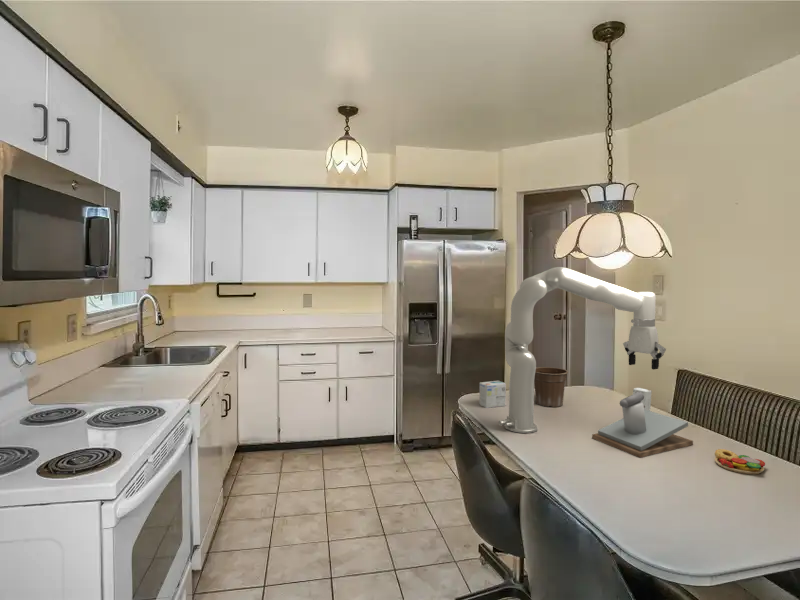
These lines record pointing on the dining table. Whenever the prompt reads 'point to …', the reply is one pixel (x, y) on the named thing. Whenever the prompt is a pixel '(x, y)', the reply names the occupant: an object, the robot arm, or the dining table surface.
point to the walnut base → (661, 446)
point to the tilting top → (641, 425)
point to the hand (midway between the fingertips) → (643, 366)
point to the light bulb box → (492, 394)
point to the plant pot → (549, 386)
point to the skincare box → (646, 399)
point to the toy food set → (738, 462)
